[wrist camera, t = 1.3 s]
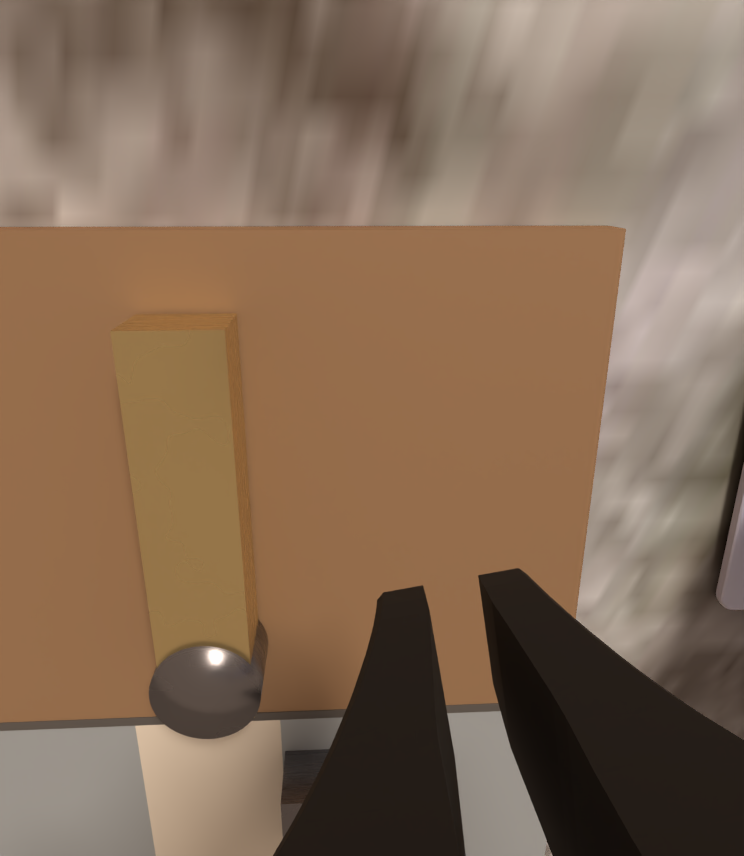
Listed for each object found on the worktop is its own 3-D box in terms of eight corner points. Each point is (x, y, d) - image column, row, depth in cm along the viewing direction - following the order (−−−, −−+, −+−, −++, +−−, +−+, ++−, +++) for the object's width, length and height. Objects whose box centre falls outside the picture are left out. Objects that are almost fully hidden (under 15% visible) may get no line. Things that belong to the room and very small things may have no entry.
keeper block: (346, 748, 22) (346, 801, 20) (347, 835, 23) (348, 892, 21) (285, 750, 22) (280, 804, 20) (290, 838, 23) (286, 895, 21)
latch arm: (270, 681, 21) (263, 736, 19) (173, 685, 20) (155, 741, 18) (246, 313, 17) (234, 332, 15) (125, 314, 16) (95, 333, 14)
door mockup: (607, 225, 18) (626, 228, 16) (522, 930, 27) (530, 964, 26) (-256, 227, 17) (-300, 231, 15) (-24, 962, 26) (-40, 998, 25)
